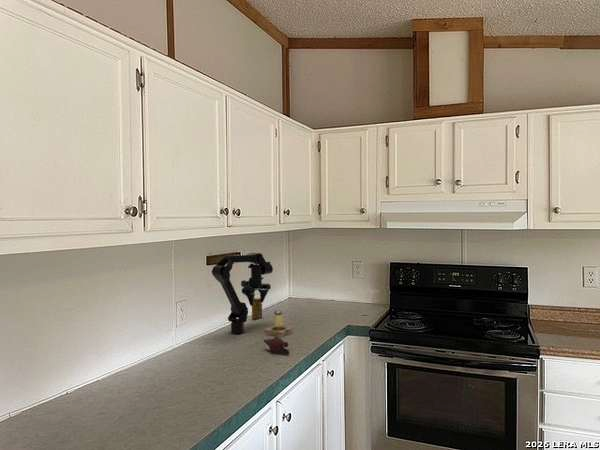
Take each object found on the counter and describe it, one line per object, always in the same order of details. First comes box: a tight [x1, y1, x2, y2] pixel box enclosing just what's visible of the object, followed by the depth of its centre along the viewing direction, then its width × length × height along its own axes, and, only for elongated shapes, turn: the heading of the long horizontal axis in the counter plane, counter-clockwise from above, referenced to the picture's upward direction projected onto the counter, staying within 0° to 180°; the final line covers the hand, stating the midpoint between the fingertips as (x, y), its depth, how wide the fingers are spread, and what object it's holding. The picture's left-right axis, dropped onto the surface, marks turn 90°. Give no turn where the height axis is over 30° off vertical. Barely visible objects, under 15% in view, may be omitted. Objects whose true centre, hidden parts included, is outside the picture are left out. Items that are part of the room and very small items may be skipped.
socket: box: [264, 325, 293, 338], centre depth 219 cm, size 10×10×3 cm
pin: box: [273, 310, 284, 331], centre depth 219 cm, size 4×4×12 cm
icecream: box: [263, 336, 290, 355], centre depth 191 cm, size 7×7×15 cm
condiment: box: [248, 297, 263, 321], centre depth 252 cm, size 7×8×12 cm
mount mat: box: [261, 325, 275, 331], centre depth 228 cm, size 9×9×1 cm
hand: (256, 304), depth 232 cm, fingers open, 9 cm apart
